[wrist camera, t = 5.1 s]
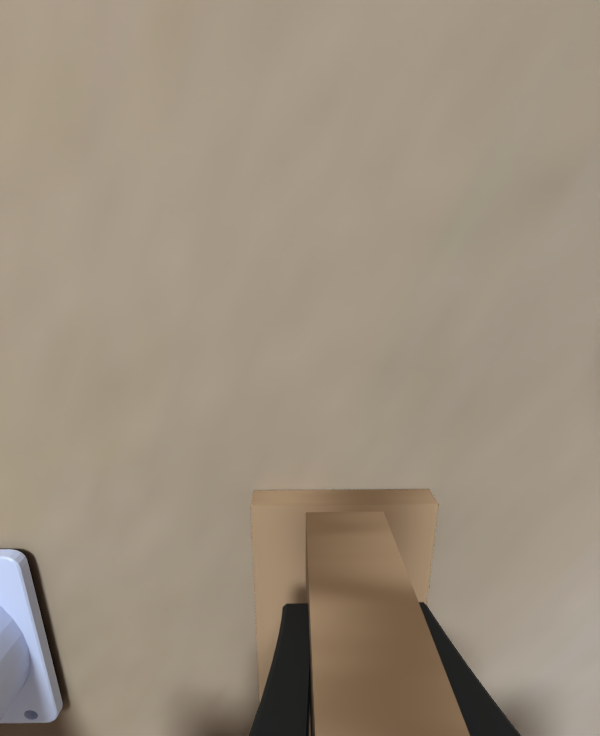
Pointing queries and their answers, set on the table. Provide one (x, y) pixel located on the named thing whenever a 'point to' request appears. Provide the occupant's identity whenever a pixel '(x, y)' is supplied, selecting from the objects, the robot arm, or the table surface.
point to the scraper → (355, 606)
